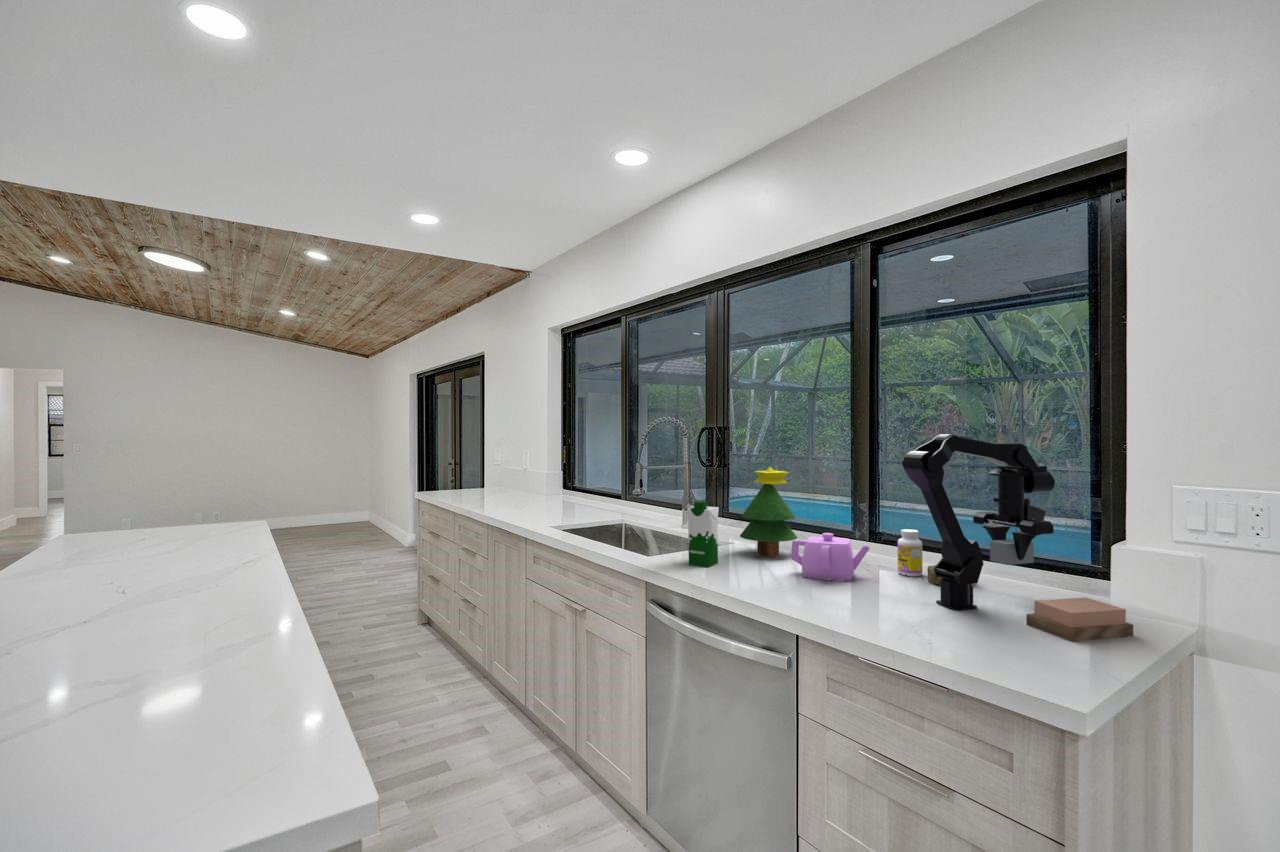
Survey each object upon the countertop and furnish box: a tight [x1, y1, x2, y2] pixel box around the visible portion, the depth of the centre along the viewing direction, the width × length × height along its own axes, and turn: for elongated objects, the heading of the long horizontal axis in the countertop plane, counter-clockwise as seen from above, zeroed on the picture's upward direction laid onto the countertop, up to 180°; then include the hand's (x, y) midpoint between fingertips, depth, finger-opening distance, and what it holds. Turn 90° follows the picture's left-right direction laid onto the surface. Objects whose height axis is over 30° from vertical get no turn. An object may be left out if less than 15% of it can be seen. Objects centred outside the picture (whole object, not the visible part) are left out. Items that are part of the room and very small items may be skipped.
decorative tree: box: [739, 466, 798, 558], centre depth 204 cm, size 19×19×30 cm
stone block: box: [927, 564, 959, 586], centre depth 165 cm, size 6×12×5 cm, turn 102°
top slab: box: [1034, 596, 1127, 628], centre depth 126 cm, size 13×9×3 cm
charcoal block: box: [989, 538, 1035, 566], centre depth 147 cm, size 8×5×5 cm, turn 106°
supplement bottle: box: [897, 528, 923, 577], centre depth 175 cm, size 7×7×13 cm
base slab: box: [1025, 612, 1134, 643], centre depth 126 cm, size 15×11×3 cm
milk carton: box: [686, 500, 720, 568], centre depth 191 cm, size 9×9×20 cm
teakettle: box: [790, 532, 871, 582], centre depth 175 cm, size 17×17×12 cm
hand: (1011, 557), depth 147 cm, fingers closed on charcoal block, 5 cm apart
